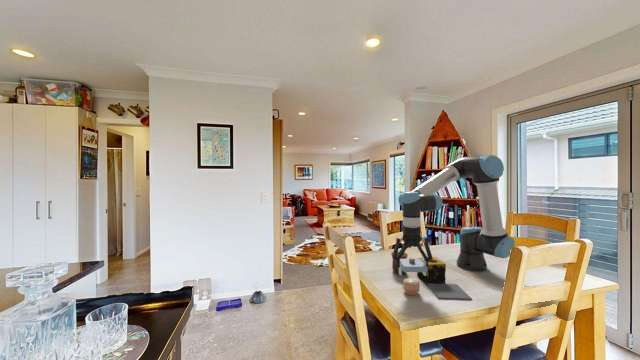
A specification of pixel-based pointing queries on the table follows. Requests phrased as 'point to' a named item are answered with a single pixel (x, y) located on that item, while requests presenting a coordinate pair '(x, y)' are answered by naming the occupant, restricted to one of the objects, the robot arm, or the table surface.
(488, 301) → the table surface
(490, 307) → the table surface
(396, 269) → the mug
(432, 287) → the mat
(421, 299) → the table surface
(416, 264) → the lid
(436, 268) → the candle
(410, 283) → the bowl
